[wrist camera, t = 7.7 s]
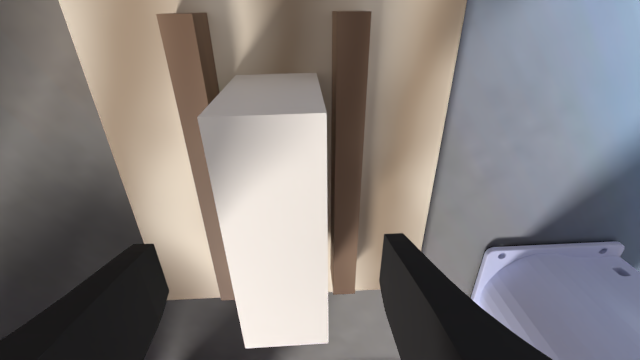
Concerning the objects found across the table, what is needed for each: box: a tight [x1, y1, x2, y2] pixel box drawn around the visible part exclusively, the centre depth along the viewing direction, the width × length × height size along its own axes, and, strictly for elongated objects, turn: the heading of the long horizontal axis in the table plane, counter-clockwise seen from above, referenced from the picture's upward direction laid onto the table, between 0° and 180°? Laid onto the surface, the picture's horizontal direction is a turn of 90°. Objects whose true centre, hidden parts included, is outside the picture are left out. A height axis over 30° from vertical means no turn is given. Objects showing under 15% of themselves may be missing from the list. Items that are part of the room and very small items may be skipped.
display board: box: [59, 0, 467, 300], centre depth 16 cm, size 16×18×4 cm
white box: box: [197, 73, 328, 348], centre depth 14 cm, size 4×10×6 cm, turn 1°
